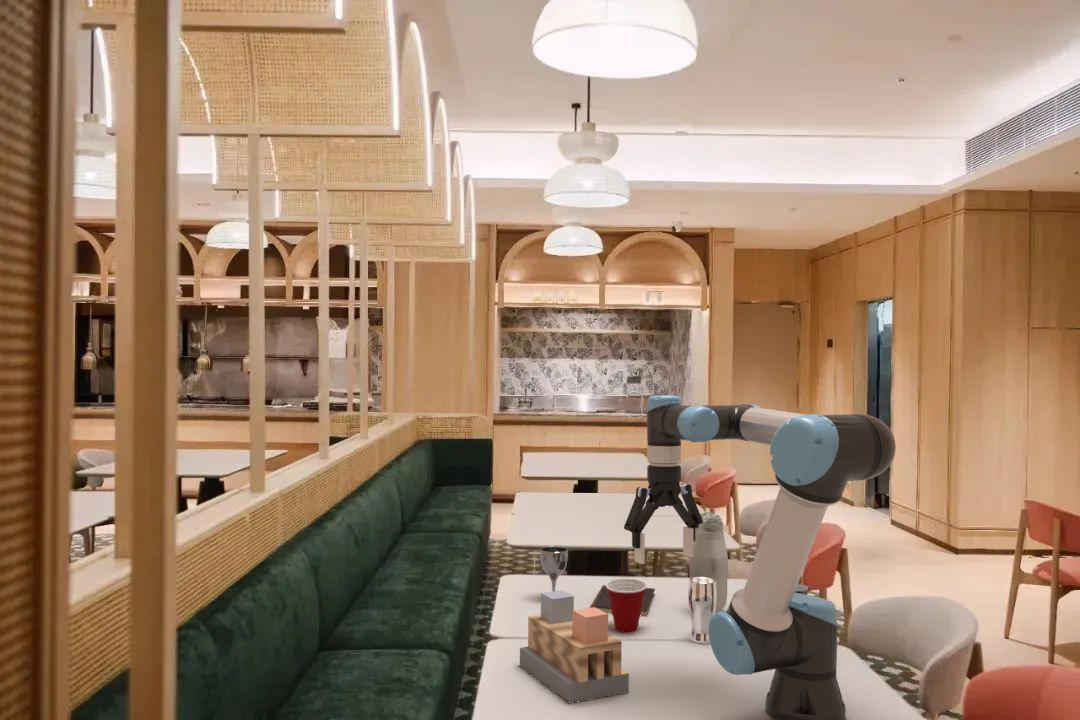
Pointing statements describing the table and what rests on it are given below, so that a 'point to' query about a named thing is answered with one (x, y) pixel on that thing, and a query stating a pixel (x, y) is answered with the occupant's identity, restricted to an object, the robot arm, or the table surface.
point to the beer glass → (701, 607)
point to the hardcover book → (604, 602)
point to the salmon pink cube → (590, 625)
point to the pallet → (573, 650)
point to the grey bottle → (711, 555)
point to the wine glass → (554, 561)
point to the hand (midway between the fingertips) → (664, 559)
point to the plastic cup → (626, 602)
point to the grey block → (557, 606)
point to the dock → (567, 684)
